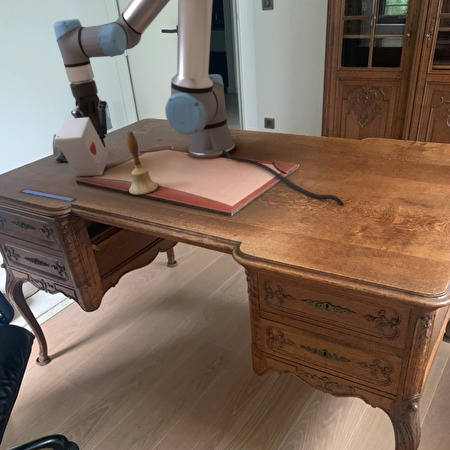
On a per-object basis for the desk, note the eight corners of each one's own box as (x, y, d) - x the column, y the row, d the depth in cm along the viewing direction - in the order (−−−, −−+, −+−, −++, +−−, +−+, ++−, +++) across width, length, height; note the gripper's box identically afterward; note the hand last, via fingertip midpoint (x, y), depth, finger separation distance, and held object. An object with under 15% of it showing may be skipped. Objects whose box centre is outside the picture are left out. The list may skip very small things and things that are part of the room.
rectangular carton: (102, 176, 138) (80, 138, 125) (76, 176, 140) (52, 139, 127) (109, 155, 142) (89, 116, 130) (84, 156, 144) (62, 118, 131)
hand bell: (130, 197, 121) (116, 138, 112) (127, 186, 128) (113, 130, 119) (160, 191, 123) (148, 132, 113) (155, 181, 129) (144, 125, 120)
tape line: (74, 199, 125) (74, 198, 125) (70, 201, 124) (70, 200, 124) (25, 190, 135) (25, 189, 135) (21, 192, 134) (21, 191, 134)
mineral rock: (98, 158, 154) (90, 128, 148) (71, 168, 148) (62, 137, 142) (78, 153, 161) (70, 124, 156) (52, 162, 155) (42, 133, 150)
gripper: (89, 76, 137) (108, 151, 151) (56, 86, 128) (80, 164, 142) (106, 76, 133) (124, 153, 147) (74, 86, 125) (97, 167, 139)
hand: (103, 159), depth 145 cm, fingers closed
